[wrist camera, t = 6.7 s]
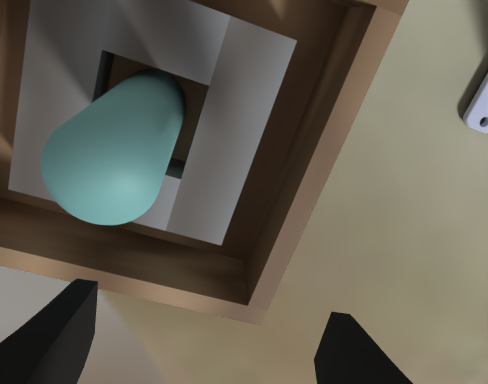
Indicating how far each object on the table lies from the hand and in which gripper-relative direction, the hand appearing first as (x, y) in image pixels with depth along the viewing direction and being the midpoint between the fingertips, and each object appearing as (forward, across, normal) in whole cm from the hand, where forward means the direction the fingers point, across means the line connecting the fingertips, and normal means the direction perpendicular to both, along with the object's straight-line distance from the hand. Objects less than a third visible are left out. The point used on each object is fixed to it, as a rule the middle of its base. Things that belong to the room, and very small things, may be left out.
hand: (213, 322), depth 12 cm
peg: (+10, +4, -4) cm, 11 cm away
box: (+10, +4, -4) cm, 12 cm away
